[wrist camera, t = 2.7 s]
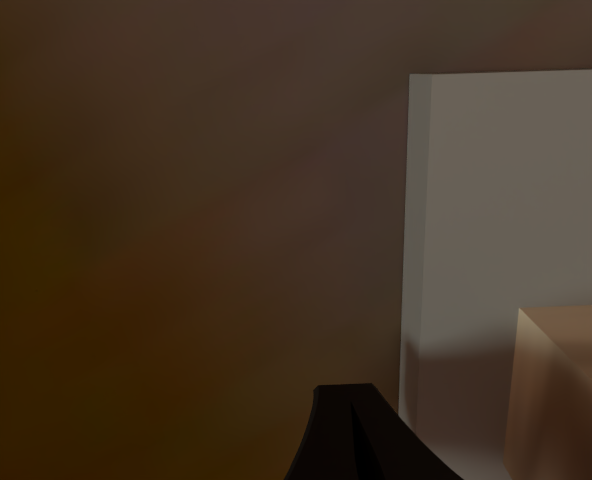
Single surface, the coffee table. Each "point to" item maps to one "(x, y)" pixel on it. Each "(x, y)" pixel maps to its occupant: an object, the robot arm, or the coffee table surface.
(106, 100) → the coffee table surface
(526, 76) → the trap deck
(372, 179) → the coffee table surface
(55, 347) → the coffee table surface
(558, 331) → the maple block
